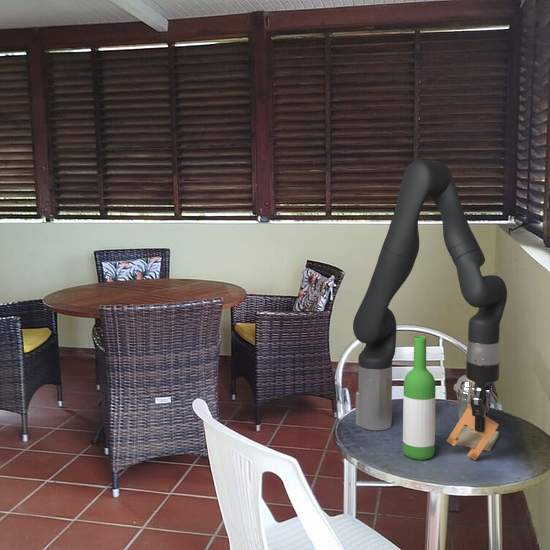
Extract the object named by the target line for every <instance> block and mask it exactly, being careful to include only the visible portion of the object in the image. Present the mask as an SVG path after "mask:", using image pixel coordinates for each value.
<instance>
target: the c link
mask: <svg viewBox="0 0 550 550" xmlns="http://www.w3.org/2000/svg"><path fill="white" fill-rule="evenodd" d="M466 425H467V427H470V428H471V429H473V430H474V431H475V416H472V408H471V406H470V405H469V406H468V408H467V409H466V411H465V412H464V414H463V416H462V417H461V419H460V418H459V420H458V421H457V423H456V425H455V426H454V428H453V430H452V431H451V433H450V434H449V436H448V437H447V439H446V442H447V443H449V444H450V445H452V446H453V447H456V445H455V444H456V443H457V441H458V440H459V438H457V436H458V434H459V433H460V431H461V430H462V428H463V426H466ZM499 425H500V424H499V423H497V422H496V421H494V420H493V419H491V418H490V417H488V415H487V416H485V430H484V432H477V431H476V432H477V433H479V434H480V435H482V436H483V437H482V439H481V440H480V442H479V443H478V445H477V447H476V448H470V450H469V451H468V453H467V456H468V457H469V458H470V459H472V460H474V461H476V460H477V459H478V458H479V455H480V454H481V453H482V451H484V450H483V448H484V447H485V445H486V444H487V442H488V441H489V439H490V438H491V436H492V435H493V433H494V432H495V431H497V429H498V427H499Z"/></svg>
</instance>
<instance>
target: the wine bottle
mask: <svg viewBox="0 0 550 550" xmlns="http://www.w3.org/2000/svg"><path fill="white" fill-rule="evenodd" d="M435 380H436V379H435V377H434V375H433V374H432V373H431V372H430V371H429V370H428V369H427V337H426V336H424V335H416V336H414V337H413V368H412V369H411V370H409V371H408V372H407V373H406V375H405V376H404V380H403V396H402V397H403V398H402V400H403V402H402V403H403V406H402V408H403V409H402V452H403V453H404V455H405V456H406V457H408V458H409V459H412V460H416V461H421V460H422V461H423V460H425V461H426V460H428V459H431V458H433V456H434V454H435V445H436V444H435V443H436V391H437V390H436V389H437V388H436V386H437V384H436V381H435Z"/></svg>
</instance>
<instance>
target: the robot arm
mask: <svg viewBox="0 0 550 550" xmlns="http://www.w3.org/2000/svg"><path fill="white" fill-rule="evenodd" d="M427 198H431V199H430V200H432V202H433V203H434V204H435V206H436V207H437V209H438V211H439V213H440V217H441V222H442V233H443V234H442V236H443V241H444V245H445V247H446V250H447V252H448V253H449V256H450V257H451V260H452V262H453V265H454V266H455V267H456V272H457V279H458V283H459V287H460V288H459V289H460V292H461V295H462V297H463V299H464V300H465V302H467V304H468V305H470V306H471V307H473V308H478V311H477V312H476V313H475V314H474V315H473V316H471V317H470V318H469V321H468V328H467V329H468V330H467V331H468V333H467V347H466V361H465V363H466V366H465V375H466V377H467V378H468V379H469V380H472V381H474V382H475V385H474V387H472V395H473V396H471V398H470V400H471V408H472V416H475V431H477V432H484V430H485V416H487V417H488V414H489V411H490V409H489V408H490V407H491V406H492V405H491V402H492V392H493V387H494V385H493V383H495V382H497V381H499V379H500V364H501V363H500V358H501V357H500V356H501V355H500V354H501V351H500V350H501V349H500V331H501V330H500V324H501V321H502V319H503V314H504V311H505V308H506V304H507V299H508V288H507V285H506V282H505V281H504V280H503V278H502V277H501V276H499V275H495V274H490V275H489V274H488V275H483V274H482V272H481V267H483V265H484V264H485V261H486V258H485V255H484V252H483V251H482V247H480V245H479V243H478V241H477V239H476V237H475V235H474V233H473V231H472V229H471V227H470V224H469V222H468V219H467V217H466V213H465V211H464V208H463V204H462V203H461V200H460V197H459V193H458V190H457V187H456V183H455V181H454V178H453V174H452V173H451V170H450V168H449V167H448V165H447V164H446V163H444V162H443V161H439V160H431V159H416V160H412V162H410V164H408V166H407V168H406V169H405V170H404V173H403V176H402V179H401V183H400V187H399V191H398V196H397V200H396V204H395V209H394V211H393V215H392V218H391V221H390V224H389V227H388V230H387V233H386V236H385V238H384V241H383V244H382V246H381V250H380V252H379V255H378V259H377V262H376V265H375V268H374V271H373V273H372V276H371V278H370V281H369V284H368V287H367V289H366V292H365V295H364V297H363V299H362V301H361V303H360V305H359V307H358V309H357V312H356V314H355V315H354V317H353V324H352V330H353V335H354V337H355V338H356V340H358V341H359V342H360V343H362V344H365V346H364V348H363V349H362V351H361V352H360V353H359V354H358V364H357V365H358V366H357V367H358V377H357V378H358V379H357V381H358V382H357V383H358V384H357V385H358V386H357V387H358V390H357V391H356V392H355V426H359V427H360V428H362V429H365V430H369V431H384V430H388V429H390V428H391V427H392V424H393V423H392V420H393V416H392V415H393V414H392V413H393V412H392V410H393V359H394V357H395V354H396V349H397V348H396V347H397V320H396V316H395V315H394V313H393V310H391V309H390V308H389V306H390V303H391V301H392V299H393V298H394V297H395V295H396V294H397V292H398V291H399V290H400V288H401V287H403V285H404V284H405V281H406V280H407V279H408V278H409V276H410V274H411V272H412V270H413V268H414V266H415V262H416V260H417V257H418V255H419V251H420V233H419V220H420V219H419V217H420V214H421V211H422V208H423V206H424V204H425V201H426V200H427Z"/></svg>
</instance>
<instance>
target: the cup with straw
mask: <svg viewBox="0 0 550 550" xmlns="http://www.w3.org/2000/svg"><path fill="white" fill-rule="evenodd" d="M453 391H455V394H456V397H457V398H456V399H457V406H458V416H459V417H458V418H459V420H460V419H461V417H462V416H463V414H464V412H465V411H466V409H467V408H468V406H469V405H470V406H471V400H470V398H471V396H472V383H470V382H466V374H464V375H462V376H460V377H459V378H458V380H457V381H456V383H455V384H454V385H453Z"/></svg>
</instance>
